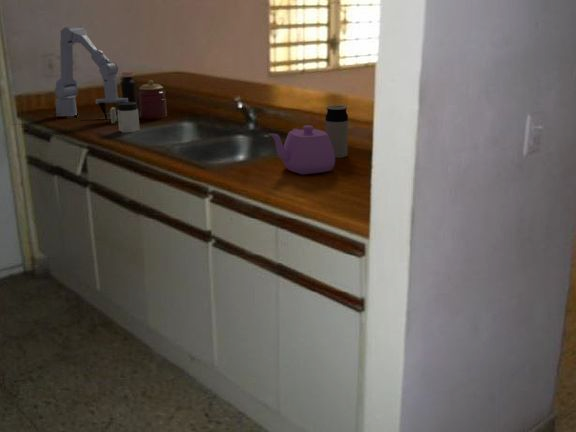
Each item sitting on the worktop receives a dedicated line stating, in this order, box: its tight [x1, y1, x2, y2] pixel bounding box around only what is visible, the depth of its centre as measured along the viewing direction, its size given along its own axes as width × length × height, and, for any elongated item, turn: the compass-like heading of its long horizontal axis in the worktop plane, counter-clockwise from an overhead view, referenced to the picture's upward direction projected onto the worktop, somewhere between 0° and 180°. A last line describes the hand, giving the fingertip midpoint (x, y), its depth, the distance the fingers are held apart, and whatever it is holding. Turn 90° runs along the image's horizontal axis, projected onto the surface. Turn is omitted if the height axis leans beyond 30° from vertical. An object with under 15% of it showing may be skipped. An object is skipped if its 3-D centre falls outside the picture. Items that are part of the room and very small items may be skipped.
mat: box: [101, 114, 118, 120], centre depth 328 cm, size 18×14×1 cm
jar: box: [116, 102, 141, 134], centre depth 294 cm, size 9×8×12 cm
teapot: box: [267, 124, 336, 176], centre depth 227 cm, size 23×21×15 cm
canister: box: [137, 79, 168, 120], centre depth 324 cm, size 13×13×18 cm
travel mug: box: [325, 104, 349, 159], centre depth 245 cm, size 8×8×18 cm
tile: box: [109, 106, 117, 124], centre depth 316 cm, size 2×8×6 cm, turn 8°
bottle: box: [120, 71, 138, 104], centre depth 336 cm, size 7×7×20 cm
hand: (113, 118), depth 317 cm, fingers open, 6 cm apart
